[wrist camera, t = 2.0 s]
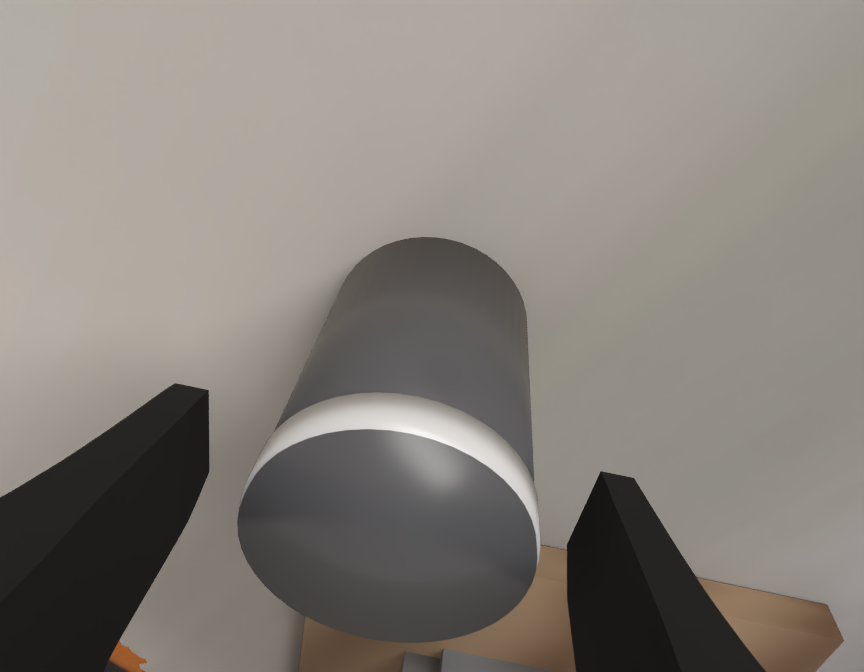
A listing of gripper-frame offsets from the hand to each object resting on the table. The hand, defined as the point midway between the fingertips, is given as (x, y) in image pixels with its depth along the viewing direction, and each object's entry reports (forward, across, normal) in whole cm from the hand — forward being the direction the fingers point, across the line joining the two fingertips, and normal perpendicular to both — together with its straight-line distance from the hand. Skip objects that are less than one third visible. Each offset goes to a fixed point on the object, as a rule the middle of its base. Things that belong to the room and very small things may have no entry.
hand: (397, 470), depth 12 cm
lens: (+5, 0, 0) cm, 5 cm away
